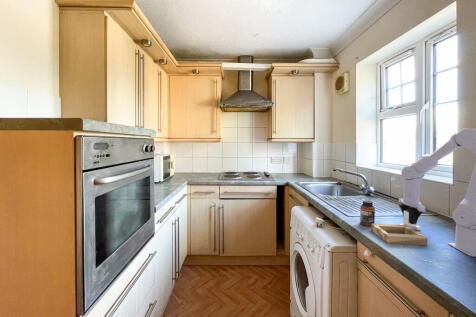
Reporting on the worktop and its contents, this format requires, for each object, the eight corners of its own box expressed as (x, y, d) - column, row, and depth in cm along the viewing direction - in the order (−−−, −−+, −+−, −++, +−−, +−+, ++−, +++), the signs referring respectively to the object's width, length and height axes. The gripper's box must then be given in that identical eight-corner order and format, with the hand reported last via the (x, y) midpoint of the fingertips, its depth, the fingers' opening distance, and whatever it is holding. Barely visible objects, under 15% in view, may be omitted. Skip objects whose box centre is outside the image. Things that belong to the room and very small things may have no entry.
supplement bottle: (365, 221, 107) (366, 199, 106) (377, 225, 101) (378, 202, 101) (356, 223, 105) (357, 200, 104) (368, 227, 99) (369, 203, 99)
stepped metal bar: (420, 230, 96) (421, 212, 96) (403, 229, 97) (404, 212, 96) (415, 227, 100) (416, 210, 99) (398, 226, 100) (399, 209, 100)
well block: (427, 245, 82) (427, 237, 82) (387, 243, 84) (388, 235, 83) (404, 231, 95) (405, 224, 95) (370, 230, 96) (371, 223, 96)
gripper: (433, 197, 90) (431, 228, 90) (410, 189, 104) (408, 217, 105) (415, 196, 90) (413, 228, 91) (394, 189, 105) (393, 216, 106)
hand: (409, 222), depth 98 cm, fingers closed on stepped metal bar, 3 cm apart
